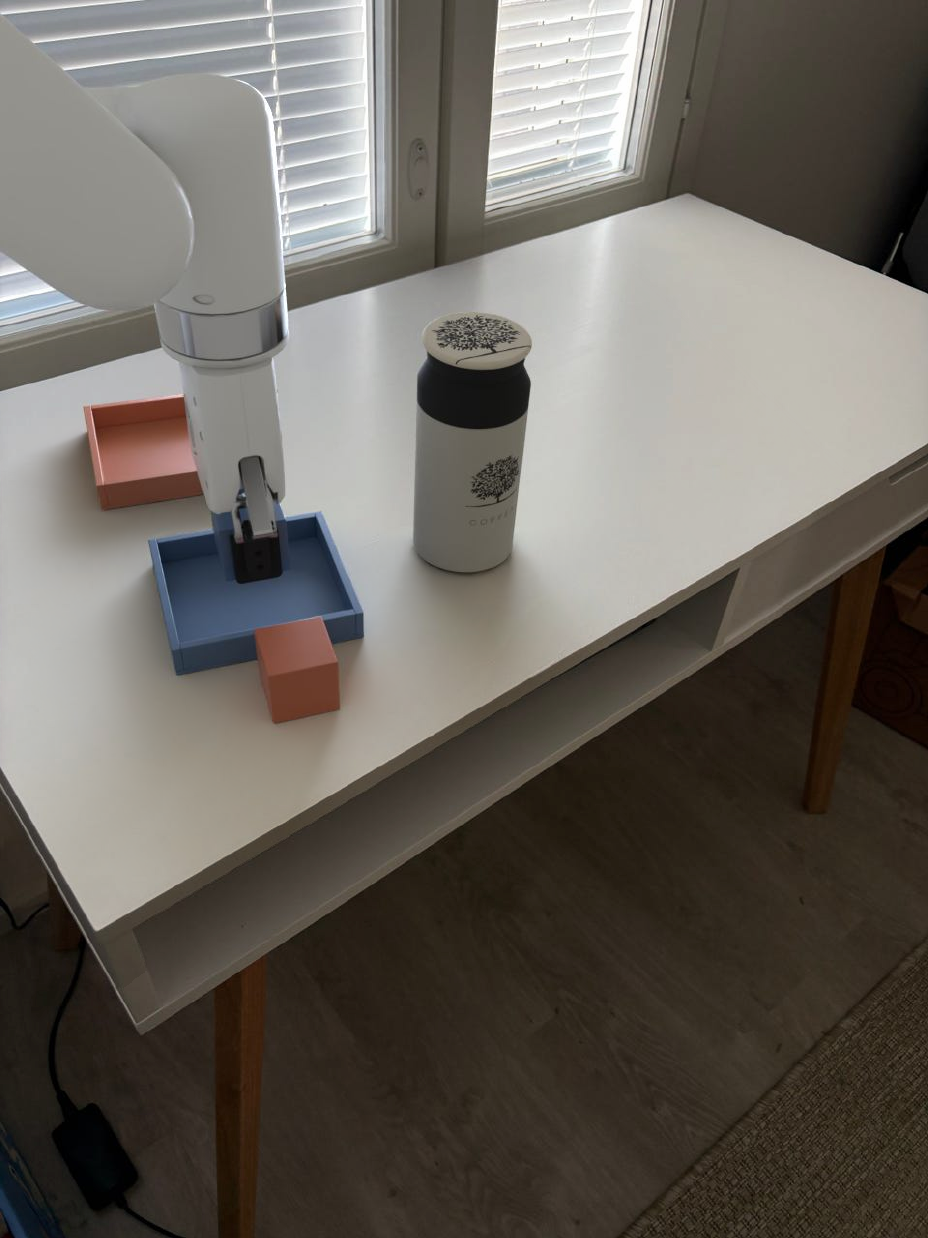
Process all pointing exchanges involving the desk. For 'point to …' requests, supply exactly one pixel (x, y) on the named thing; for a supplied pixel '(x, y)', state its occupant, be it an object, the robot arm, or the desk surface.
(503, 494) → the travel mug
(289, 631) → the terracotta block
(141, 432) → the terracotta tray
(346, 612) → the blue tray
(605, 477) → the desk surface
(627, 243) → the desk surface
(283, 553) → the blue block
